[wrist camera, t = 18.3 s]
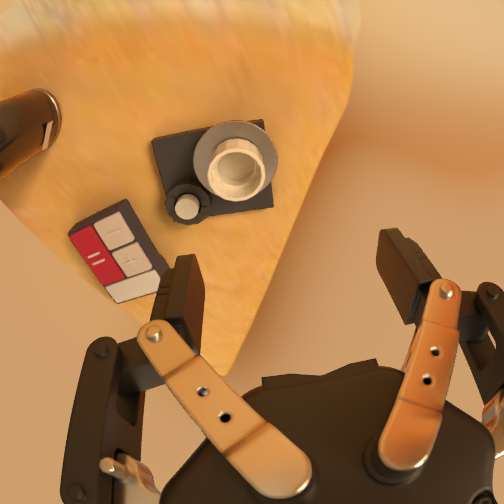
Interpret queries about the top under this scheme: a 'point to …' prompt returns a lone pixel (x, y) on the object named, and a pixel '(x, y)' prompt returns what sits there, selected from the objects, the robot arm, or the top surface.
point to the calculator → (119, 252)
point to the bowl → (236, 170)
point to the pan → (234, 131)
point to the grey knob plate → (186, 181)
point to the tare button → (187, 206)
